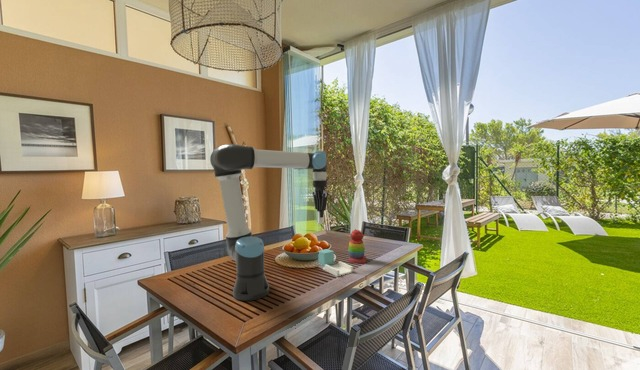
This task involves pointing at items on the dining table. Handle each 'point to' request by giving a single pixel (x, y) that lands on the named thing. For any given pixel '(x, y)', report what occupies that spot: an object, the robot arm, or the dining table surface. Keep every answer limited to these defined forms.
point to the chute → (338, 268)
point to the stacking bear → (356, 248)
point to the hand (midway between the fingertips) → (320, 223)
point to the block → (326, 257)
